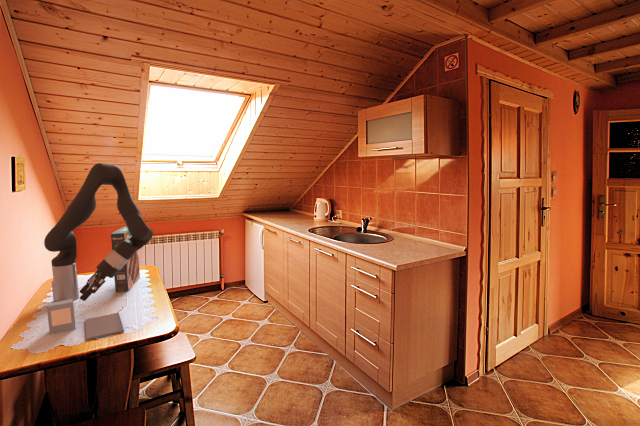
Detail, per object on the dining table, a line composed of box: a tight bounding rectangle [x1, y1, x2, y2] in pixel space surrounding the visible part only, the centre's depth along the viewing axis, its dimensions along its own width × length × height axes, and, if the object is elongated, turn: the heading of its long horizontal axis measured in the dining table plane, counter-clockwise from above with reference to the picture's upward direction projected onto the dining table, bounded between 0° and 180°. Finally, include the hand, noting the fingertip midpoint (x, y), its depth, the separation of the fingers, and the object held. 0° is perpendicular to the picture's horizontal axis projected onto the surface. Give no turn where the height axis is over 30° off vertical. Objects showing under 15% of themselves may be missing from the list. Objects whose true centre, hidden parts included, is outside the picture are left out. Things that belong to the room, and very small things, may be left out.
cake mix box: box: [110, 225, 141, 293], centre depth 188 cm, size 22×6×30 cm, turn 13°
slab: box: [46, 299, 76, 335], centre depth 137 cm, size 8×4×11 cm, turn 124°
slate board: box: [84, 312, 125, 342], centre depth 140 cm, size 20×12×1 cm, turn 35°
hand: (81, 296), depth 140 cm, fingers open, 8 cm apart
